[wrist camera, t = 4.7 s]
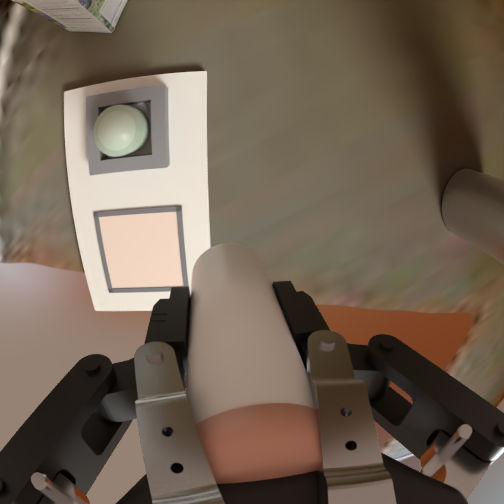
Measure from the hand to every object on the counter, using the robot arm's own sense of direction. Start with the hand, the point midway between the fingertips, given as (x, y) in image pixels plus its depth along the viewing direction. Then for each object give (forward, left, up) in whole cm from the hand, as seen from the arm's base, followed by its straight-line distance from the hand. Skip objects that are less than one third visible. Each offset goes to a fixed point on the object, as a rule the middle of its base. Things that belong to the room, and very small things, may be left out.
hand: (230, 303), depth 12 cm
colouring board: (+8, -1, -18) cm, 20 cm away
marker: (0, 0, -2) cm, 2 cm away
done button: (+8, -8, -15) cm, 19 cm away
